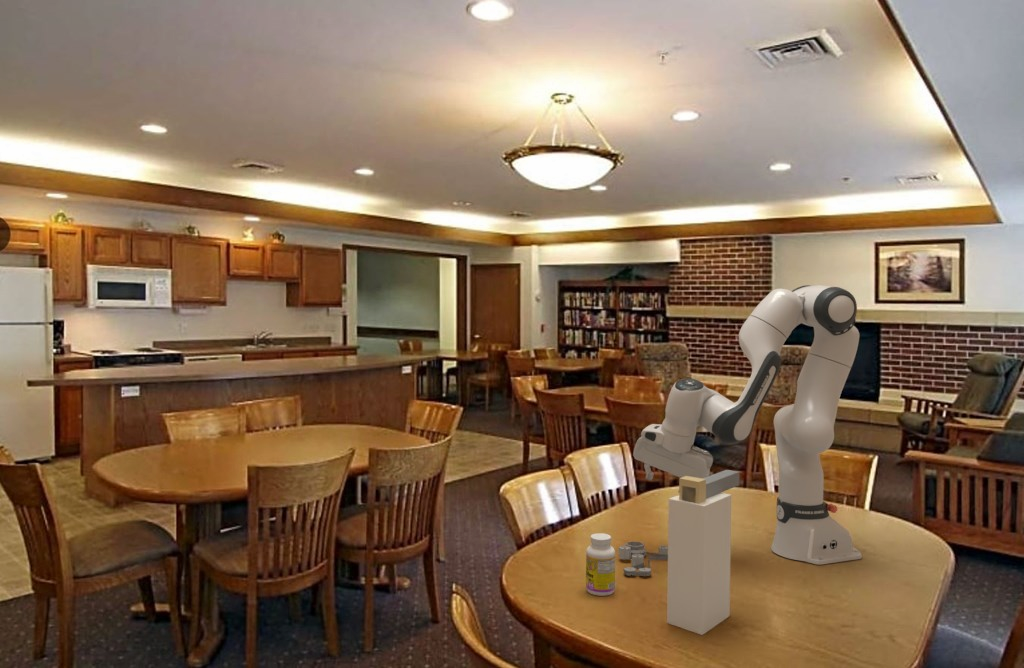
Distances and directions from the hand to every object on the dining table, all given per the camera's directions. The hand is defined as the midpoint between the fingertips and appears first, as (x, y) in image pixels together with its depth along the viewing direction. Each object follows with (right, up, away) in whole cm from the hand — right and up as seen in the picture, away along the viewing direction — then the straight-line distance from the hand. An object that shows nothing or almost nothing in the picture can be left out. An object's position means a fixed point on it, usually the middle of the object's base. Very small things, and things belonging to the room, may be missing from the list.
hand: (665, 485), depth 188 cm
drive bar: (+2, +6, -37) cm, 37 cm away
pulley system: (-5, -19, -4) cm, 20 cm away
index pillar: (-2, -20, -39) cm, 44 cm away
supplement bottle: (-20, -19, -25) cm, 37 cm away
